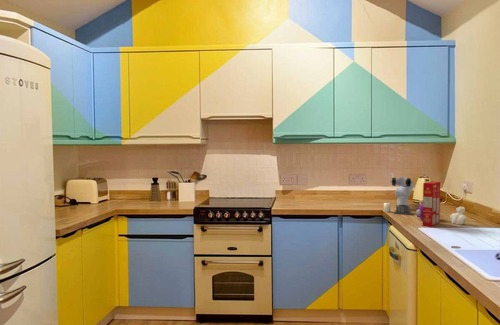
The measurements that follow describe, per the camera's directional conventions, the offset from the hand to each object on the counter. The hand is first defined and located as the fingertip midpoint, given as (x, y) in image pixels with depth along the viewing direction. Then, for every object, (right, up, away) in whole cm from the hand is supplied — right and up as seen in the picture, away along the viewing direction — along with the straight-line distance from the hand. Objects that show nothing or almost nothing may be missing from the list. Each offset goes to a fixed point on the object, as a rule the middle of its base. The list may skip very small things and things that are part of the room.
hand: (400, 181), depth 297 cm
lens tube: (+3, -22, +3) cm, 22 cm away
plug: (-6, -21, +9) cm, 24 cm away
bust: (+23, -24, -35) cm, 48 cm away
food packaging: (+5, -24, -38) cm, 45 cm away
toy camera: (+9, -23, -22) cm, 33 cm away
